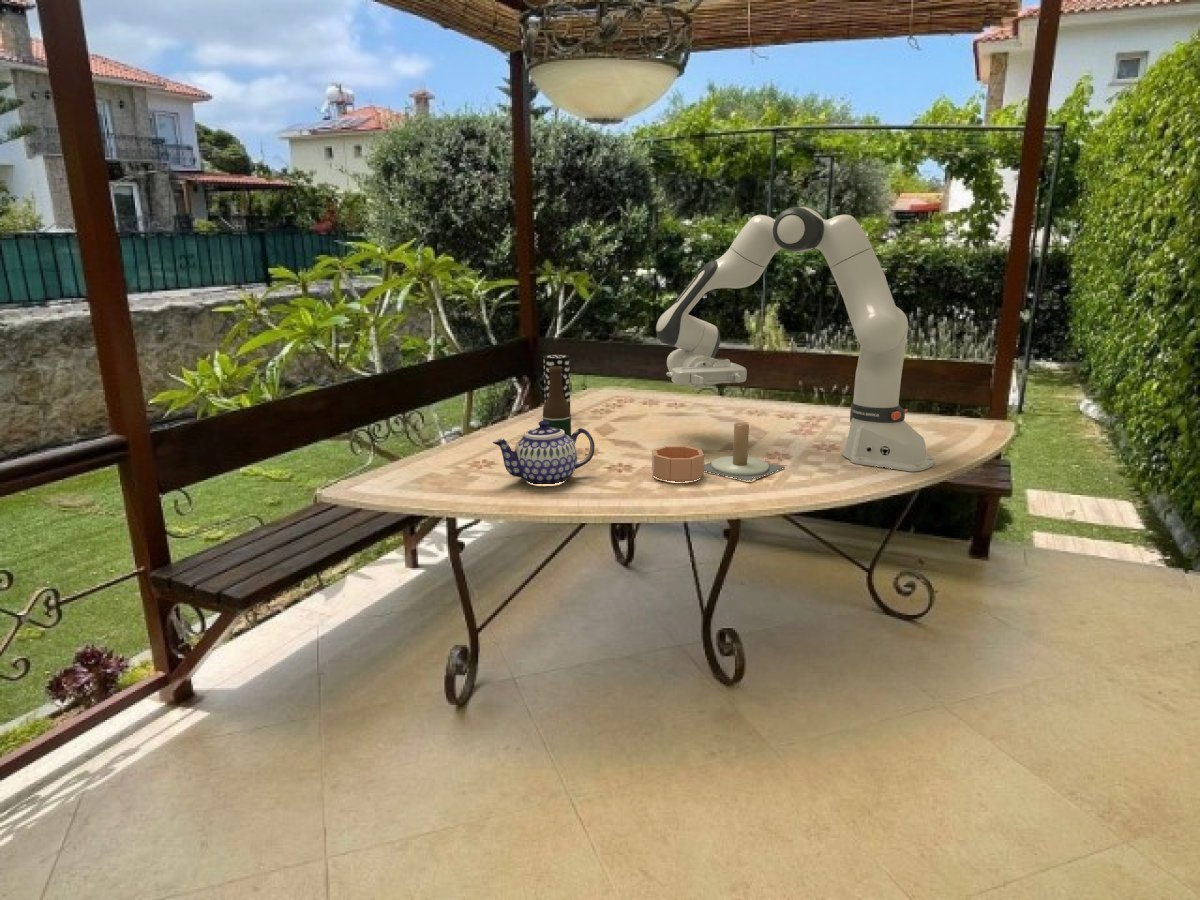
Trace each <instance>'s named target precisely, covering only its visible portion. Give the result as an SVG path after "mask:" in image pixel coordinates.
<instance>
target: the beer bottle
mask: <svg viewBox="0 0 1200 900" xmlns="http://www.w3.org/2000/svg"><path fill="white" fill-rule="evenodd" d="M562 371H563V370H562V367H560V366H552V367H549V372H550V385H549V397H548V399H547V400H546V402H545V401H544V404H543V407H542V421H543V420H545V421H548V422H549V426H548V427H551V428H558V429H562V430H564V433H565V434H566V435H568V436H571V435H572V418H571V417H572V416H571V407H570V408H569V405H568V403H567V401H566V399H565V398H564V394H563V385H562V373H561V372H562Z"/></svg>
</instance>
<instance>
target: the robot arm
mask: <svg viewBox="0 0 1200 900" xmlns="http://www.w3.org/2000/svg"><path fill="white" fill-rule="evenodd" d="M781 249H783V250H784V251H787V252H794V253H805V252H810V251H813V250H814V249H816V250H818V251H819V252H821V254H822V255H823V257H824V259H825V260H826V263H827V265H828V267H829V269H830V272H831V274H832V276H833V278H834V281H835V283H836V285H837V287H838V290H839V292H840V295H841V297H842V299H843V303H844V305H845V308H846V311H847V315H848V319H849V320H850V323H851V327H852V328H853V331H854V335H855V336H856V340H857V342H858V344H859V352H858V353H859V354H858V360H857V366H856V370H855V379H854V389H853V401H852V402H851V404H850V412H849V423H850V425H849V430H848V435H847V439H846V443H845V445H844V448H843V451H842V456H843V457H844V458H847V459H848V460H850V462H851V463H852V464H856V465H861V466H862V465H863V466H871V467H876V466H877V468H883V467H885V468H884V469H890V468H891V470H896V471H904V472H920V471H924V470H928V469H929V468H931V467H933V466H934V465H935V458H934V457H933V456H930V455H927V446H926V441H925V438H924V437H923V436H922V435H921V434H919V432H917V431H916V429H914V428H913V427H912V426H911V425H909V423H908V422H907V421H905V417H906V414H907V413H908V408H905V409H904V408H903V407H902V406H900V404H899V402H900V391H901V383H902V382H901V381H902V375H903V374H902V373H903V367H904V361H905V354H906V346H907V340H908V339H907V338H908V330H909V321H908V317H907V315H906V314H905V312H904V311H903V310H902V309H901V308H899V307H897V306H896V303H895V299H894V298H893V295H892V292H891V290H890V287H889V284H888V281H887V278H886V275H885V272H884V271H883V270H884V269H883V268H882V266H881V264H880V261H879V259H878V257H877V254H876V253H875V250H874V248H873V245H872V243H871V241H870V240H869V238H868V236H867V234H866V233H865V231H864V229H863V228H862V226H861V225H860V223H859V222H858V220H857V219H856V218H855V217H854V216H852V215H850V214H840V215H838V214H837V215H836V216H833V217H831V218H829V219H825V217H824V215H822V214H821V212H819V211H818V210H815V209H812V208H810V207H806V206H793V207H789V208H786V209H784V210H783V211H782V212H780V213H779V215H778V216H777V217H776V218H775V219H774V218H773V217H771V216H768V215H765V214H757V215H755V216H753V217H751V218H750V219H749V220H748V221H747V222H746V224H744V226H743V227H742V228H741V230H740V231H739V233H738V234H737V235H736V237H735V238H734V240H733V242H732V243H731V245H730V247H729V248H728V249H727V251H726V252H724V254H723V255H721V256H720V257H719V258H717V259H715V260H710V261H709V262H707V263H706V264H705V265H704V266H702V267H701V268H700V270H699V271H698V272H697V273H696V274H695V276H694V277H693V278H692V279H691V280H690V282H689V283H688V284H687V286H686V287H685V288H684V289H683V290H682V292H681V293H680V294H679V296H678V297H677V298H675V300H674V301H673V302H672V304H671V305H670V306H669V307H668V308H667V309H665V311H664V312H663V313H661V315H660V316H659V317H658V319H657V322H656V325H655V333H656V335H657V337H658V340H659V341H660V343H662V344H664V345H667V346H671V347H675V348H677V349H675V350H673V351H671V352H670V353H669V354H668V356H667V358H666V367H667V370H668V371H667V372H666V373H665V375H666V376H667V377H669V378H671V381H672V383H674V384H675V385H678V386H691V387H693V388H696V389H705V388H707V387H710V386H713V385H719V384H730V383H734V384H736V383H737V384H739V383H744V382H746V381H747V368H746V367H744V366H742V365H740V364H737V363H736V362H735V363H734V362H731V360H730V359H728V358H719V357H716V355H717V353H718V352H719V348H720V346H721V345H720V344H721V335H720V331H719V329H718V326H717V325H716V324H715V325H714V324H712V323H710V322H708V321H705V320H703V319H700V318H697V317H696V316H693V315H690V314H689V313H690V312H691V311H692V310H693V308H694V307H695V306H696V305H697V303H698V302H699V301H700V300H701V298H703V297H704V295H705V294H706V293H708V292H709V291H712V290H715V289H742V288H743V289H744V288H747V287H750V286H752V285H753V284H755V283H756V282H757V281H758V280H759V279H760V278H761V276H762V274H763V273H764V271H765V270H766V268H767V267H768V265H769V263H770V261H771V260H772V258H773V257H774V255H775V254H777V252H778V251H780V250H781Z"/></svg>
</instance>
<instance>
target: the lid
mask: <svg viewBox="0 0 1200 900" xmlns="http://www.w3.org/2000/svg"><path fill="white" fill-rule="evenodd" d="M749 435H750V424H749V423H746V422H736V423H734V425H733V444H732V445H733V447H732V456H730V455H728V456H722V457H717V458H714V459H713V460H712V461H711V462H712V466H711V467H712V469H713V470H715V471H717V472H720V473H723V474H728V475H736V476H752V475H759V474H763V473H765V472H767V471H768V468H769V465H768V463H769V462H767V461H765V460H763V459H760V458H757V457H752V456H748V455H749V437H750V436H749Z"/></svg>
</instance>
